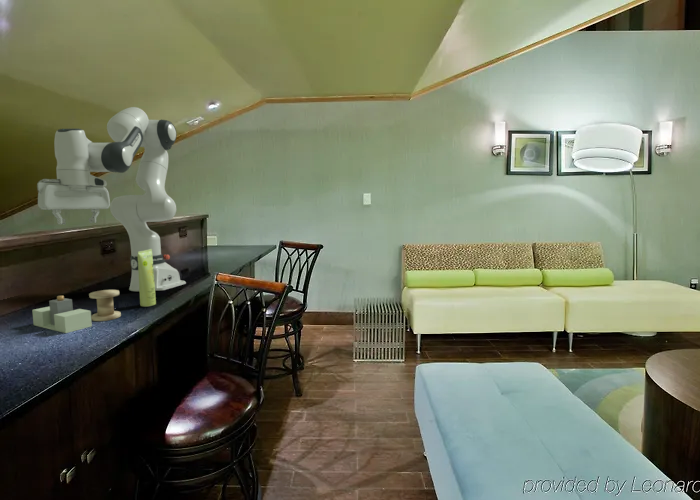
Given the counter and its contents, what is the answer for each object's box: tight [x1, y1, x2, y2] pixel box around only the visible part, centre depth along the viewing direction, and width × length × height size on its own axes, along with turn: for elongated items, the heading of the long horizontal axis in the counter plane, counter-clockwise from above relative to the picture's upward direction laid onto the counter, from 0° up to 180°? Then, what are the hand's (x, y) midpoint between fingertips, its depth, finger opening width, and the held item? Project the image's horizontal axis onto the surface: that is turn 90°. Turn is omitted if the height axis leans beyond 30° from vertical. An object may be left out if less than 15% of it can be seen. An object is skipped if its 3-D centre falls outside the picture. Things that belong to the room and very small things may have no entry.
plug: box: [48, 295, 74, 325], centre depth 117 cm, size 4×4×8 cm
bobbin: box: [88, 289, 122, 322], centre depth 125 cm, size 8×8×8 cm
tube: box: [138, 249, 157, 308], centre depth 139 cm, size 6×5×20 cm
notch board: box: [32, 305, 93, 334], centre depth 117 cm, size 7×16×5 cm, turn 63°
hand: (77, 223), depth 129 cm, fingers open, 8 cm apart
